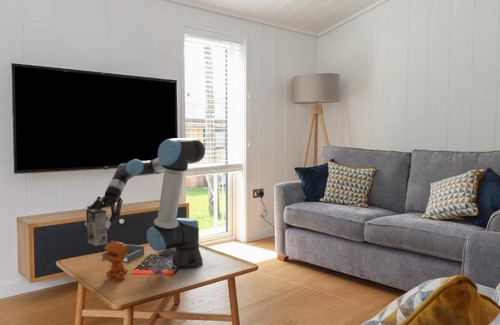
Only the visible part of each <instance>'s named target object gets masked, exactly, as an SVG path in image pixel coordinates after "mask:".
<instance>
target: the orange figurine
mask: <svg viewBox="0 0 500 325" xmlns="http://www.w3.org/2000/svg"><path fill="white" fill-rule="evenodd" d="M125 244H126V243H124V242H121V241H118V240H117V239H116V240H115V241H114V240H111V242H107V244H105V246H104V249H105V252H106V251H107V253H104V252H102V253H103V254H104V257H105V259H107V260H106V261H107V262H109V263H111V264H110V265H111V266H110V269H109V270H107V271H106V272H105V274H106V278H107V279H109V280H110V281H114V282H115V281H116V282H118V281H122V280H123V279H125V276H127V275H128V270H129V269H128V268H125V266H124V262H122V261H124V258H126V257H127V255H128V248H127V247H125V246H126V245H125ZM126 248H127V250H126ZM109 251H110V252H109ZM126 251H127V252H126ZM112 252H114V253H112ZM126 254H127V255H126Z"/></svg>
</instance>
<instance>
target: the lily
mask: <svg viewBox="0 0 500 325" xmlns="http://www.w3.org/2000/svg"><path fill="white" fill-rule="evenodd" d="M147 260H148V261H149V262H150V263H151V265H150V267H151V275H150V276H149V278H148V280H147V282H149V280H150V278H151V277H152V276H153V275H158V276H160V277H162V278H163V279H164V280H166V278H165V277H164V276H163V275H164V274H165V272H164V271H162V269H160V267H157V266H156V265H155V264H154V263H153V262H152V261H151V259H150V258H147Z"/></svg>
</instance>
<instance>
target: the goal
mask: <svg viewBox="0 0 500 325" xmlns="http://www.w3.org/2000/svg"><path fill="white" fill-rule="evenodd" d="M124 244H125V245H126V246H125V247H127V248H128V255H127V254H126V255H127V257H126V258H124V261H122V263H131V262H132V261H133V262H134V261H135V260H137V259H139V258H141V257H143V256H145V246H144V245H140V244H139V245H138V244H127V243H124ZM127 248H126V250H127ZM109 252H110V251H109ZM126 252H127V251H126ZM103 253H107V251H106V250H105V251H104V252H102V255H101V256H102V261H107V259H105V257H104V254H103ZM112 253H114V252H112Z"/></svg>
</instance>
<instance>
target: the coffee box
mask: <svg viewBox="0 0 500 325" xmlns="http://www.w3.org/2000/svg"><path fill="white" fill-rule="evenodd" d="M88 209H89V208H88ZM88 209H87V210H85V212H86V221H87V226H86V228H87V229H86V230H87V243H89V244H91V245H93V246H95V247H97V246H102V245H107V244H108V229H107V228H106V227H105V226H104V225H105V223H106V222H107V219H108V217H107V210H106V209H105V210H104V209H89V210H88Z"/></svg>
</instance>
